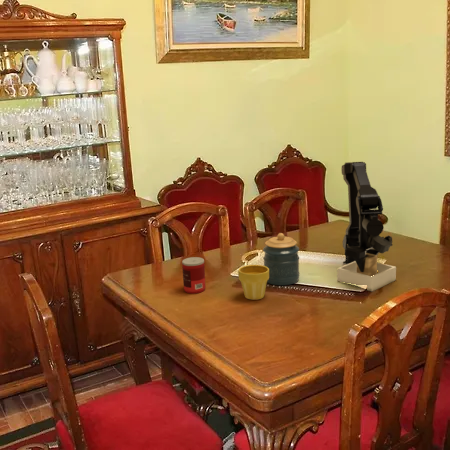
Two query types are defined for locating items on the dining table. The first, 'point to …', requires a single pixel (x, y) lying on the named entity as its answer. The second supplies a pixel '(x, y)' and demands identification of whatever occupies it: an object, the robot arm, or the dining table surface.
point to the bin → (380, 279)
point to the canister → (282, 260)
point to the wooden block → (369, 265)
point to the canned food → (193, 275)
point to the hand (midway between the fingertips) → (366, 270)
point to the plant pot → (254, 280)
